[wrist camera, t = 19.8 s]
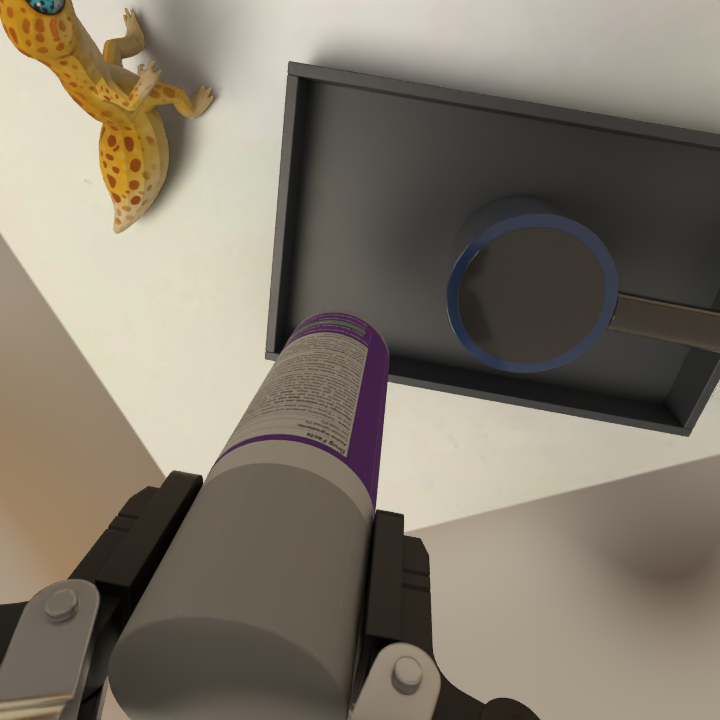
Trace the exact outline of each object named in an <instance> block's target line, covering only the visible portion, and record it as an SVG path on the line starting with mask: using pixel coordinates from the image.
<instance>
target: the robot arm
mask: <svg viewBox="0 0 720 720" xmlns="http://www.w3.org/2000/svg"><path fill="white" fill-rule="evenodd" d="M202 485H203V477H202V476H201V475H196V474H191V473H186V472H181V471H175V470H174V471H172V472H171V473H170V474H169V476H168V477H167V478H166V480H165V481H164V483H163V484H162V486H161V487H160V488H156V487H150V486H148V487H146V488H145V489H143V490H141V491H140V492H139V493H137V494H135V495H134V496H132V497H131V498H130V499H129V500H128V501H127V503H126V504H125V505H124V507H123V508H122V509H121V511H120V512H119V513H118V516H116V517H115V518H114V520H113V521H112V522H111V524H110V525H109V527H108V529H106V530H105V531H104V533H103V534H102V535H101V536H100V538H99V539H98V540H97V542H96V543H95V544H94V546H93V547H92V548H91V550H90V551H89V552H88V553H87V555H86V556H85V557H84V559H83V560H82V561H81V562H80V564H79V565H78V566H77V568H76V569H75V570H74V571H73V573H72V574H71V575H70V577H69V578H68V579H67V580H63V581H59V582H56V583H54V584H51V585H49V586H47V587H45V588H44V589H42V590H41V591H39V592H38V593H37V594H36V595H34V596H33V597H32V599H31V600H30V601H26V602H21V603H12V604H3V605H0V720H101V716H102V711H103V706H104V701H105V697H106V692H107V687H108V681H109V679H108V663H109V658H110V655H111V653H112V650H113V648H114V646H115V645H116V643H117V641H118V639H119V637H120V636H121V634H122V632H123V630H124V628H125V626H126V625H127V623H128V621H129V619H130V617H131V615H132V614H133V612H134V610H135V608H136V606H137V604H138V603H139V601H140V599H141V597H142V595H143V593H144V592H145V590H146V588H147V586H148V584H149V582H150V581H151V579H152V577H153V575H154V573H155V572H156V570H157V568H158V566H159V564H160V562H161V561H162V559H163V557H164V555H165V553H166V551H167V550H168V548H169V546H170V544H171V542H172V540H173V539H174V537H175V535H176V533H177V531H178V529H179V528H180V526H181V524H182V522H183V520H184V518H185V517H186V515H187V513H188V511H189V509H190V507H191V506H192V504H193V502H194V500H195V498H196V496H197V495H198V493H199V491H200V489H201V487H202ZM429 575H430V567H429V555H428V553H427V551H426V549H425V546H424V544H423V542H422V541H421V539H420V538H415V537H410V536H405V535H404V515H403V514H399V513H394V512H389V511H383V510H378V509H377V510H376V513H375V518H374V523H373V531H372V539H371V547H370V555H369V563H368V571H367V578H366V586H365V593H364V601H363V608H362V616H361V623H360V631H359V638H358V646H357V653H356V661H355V668H354V676H353V684H352V691H351V699H350V706H349V714H348V720H540V719H539V718H538V717H537V716H536V714H534V712H533V711H531V710H530V709H529V708H528V707H526V706H525V705H523V704H522V703H520V702H518V701H516V700H513V699H509V698H496V699H493V700H491V701H489V702H488V703H487V704H484V703H482V702H480V701H478V700H476V699H475V698H473V697H471V696H469V695H467V694H466V693H464V692H462V691H461V690H459V689H457V688H456V687H455V686H453V685H452V684H451V683H450V682H449V681H448V680H447V679H446V678H445V676H444V675H443V674H442V672H441V671H440V669H439V667H438V666H437V664H436V661H435V658H434V655H433V646H432V621H431V593H430V577H429Z"/></svg>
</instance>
